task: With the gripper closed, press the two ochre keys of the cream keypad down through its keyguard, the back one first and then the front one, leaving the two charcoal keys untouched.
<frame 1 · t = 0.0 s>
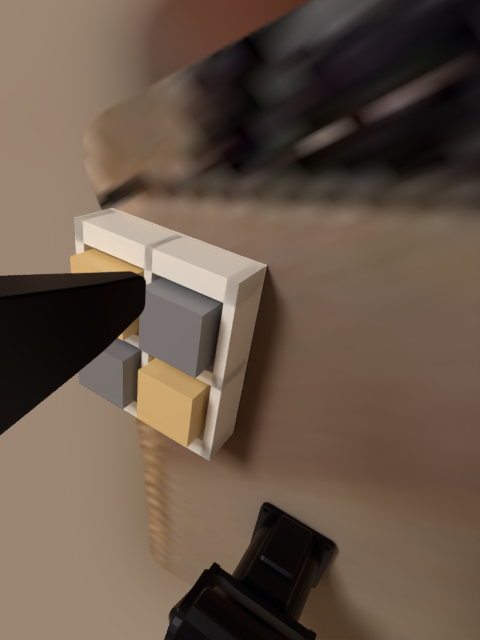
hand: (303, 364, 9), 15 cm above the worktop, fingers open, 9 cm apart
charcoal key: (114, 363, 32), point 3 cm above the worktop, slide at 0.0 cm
ochre key 2: (176, 397, 29), point 4 cm above the worktop, slide at 0.0 cm
keypad: (175, 325, 32), on the worktop
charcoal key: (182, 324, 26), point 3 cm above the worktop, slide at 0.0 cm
ochre key 1: (113, 291, 28), point 4 cm above the worktop, slide at 0.0 cm
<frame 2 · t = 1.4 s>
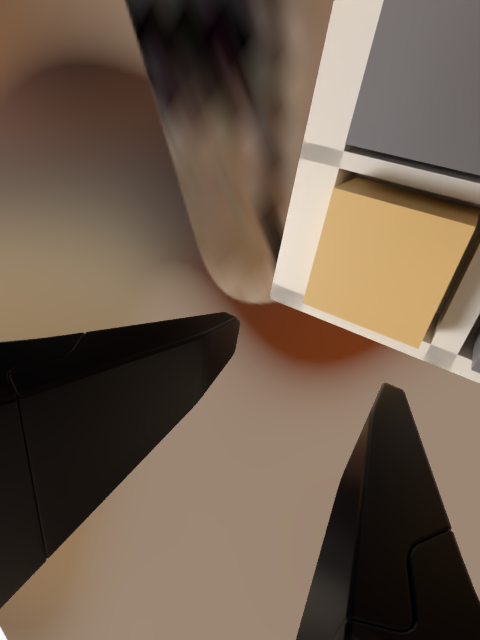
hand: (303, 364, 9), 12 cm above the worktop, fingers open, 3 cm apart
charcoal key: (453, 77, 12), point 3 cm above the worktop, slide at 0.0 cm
ochre key 1: (386, 258, 15), point 4 cm above the worktop, slide at 0.0 cm
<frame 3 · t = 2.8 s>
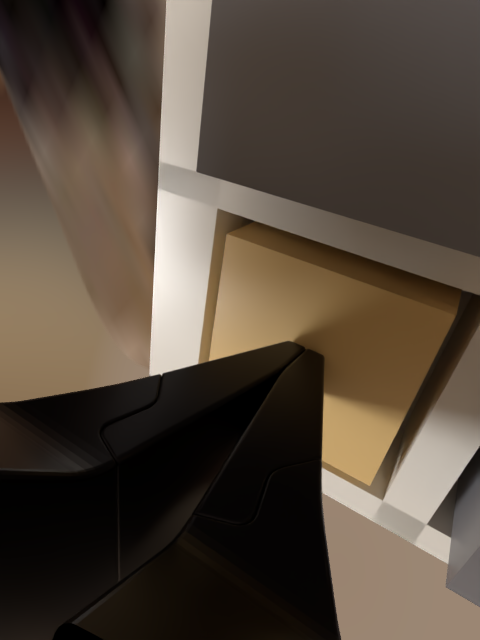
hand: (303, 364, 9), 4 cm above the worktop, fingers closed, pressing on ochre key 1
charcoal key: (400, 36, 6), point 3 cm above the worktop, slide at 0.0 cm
ochre key 1: (324, 336, 10), point 2 cm above the worktop, slide at 1.3 cm, touching gripper
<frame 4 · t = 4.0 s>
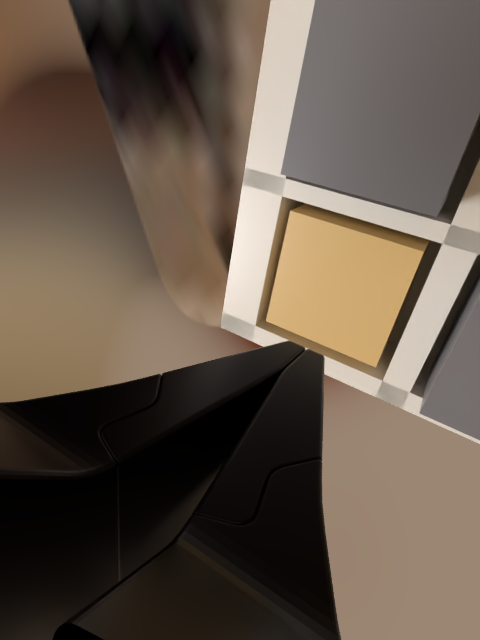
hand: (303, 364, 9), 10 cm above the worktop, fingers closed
keypad: (470, 216, 15), on the worktop
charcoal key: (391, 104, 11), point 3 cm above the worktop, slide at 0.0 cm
ochre key 1: (346, 278, 16), point 2 cm above the worktop, slide at 1.5 cm
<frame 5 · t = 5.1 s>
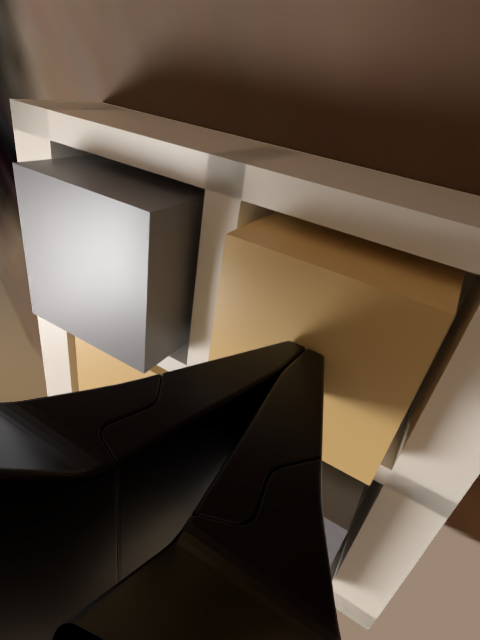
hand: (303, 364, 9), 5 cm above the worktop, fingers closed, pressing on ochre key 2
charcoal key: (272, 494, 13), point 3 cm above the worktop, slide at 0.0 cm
ochre key 2: (323, 336, 10), point 3 cm above the worktop, slide at 0.3 cm, touching gripper
keypad: (252, 332, 15), on the worktop
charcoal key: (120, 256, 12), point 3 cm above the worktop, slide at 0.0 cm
ochre key 1: (148, 383, 16), point 2 cm above the worktop, slide at 1.5 cm
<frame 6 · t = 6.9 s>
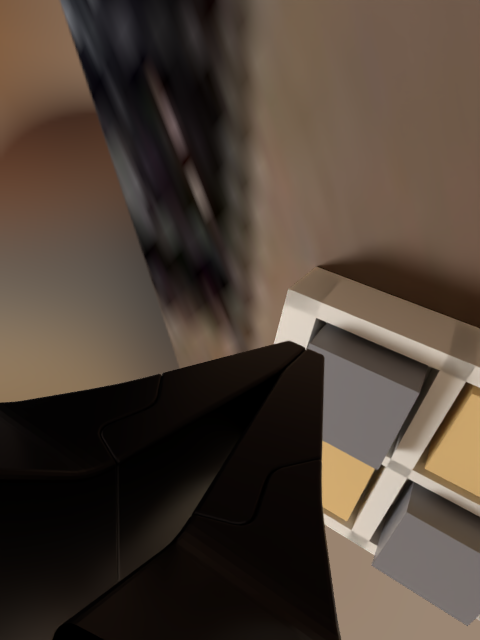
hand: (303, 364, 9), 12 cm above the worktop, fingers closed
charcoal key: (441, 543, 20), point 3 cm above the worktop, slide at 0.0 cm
keypad: (412, 424, 22), on the worktop
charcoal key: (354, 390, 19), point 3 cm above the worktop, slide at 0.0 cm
ochre key 1: (328, 454, 23), point 2 cm above the worktop, slide at 1.5 cm
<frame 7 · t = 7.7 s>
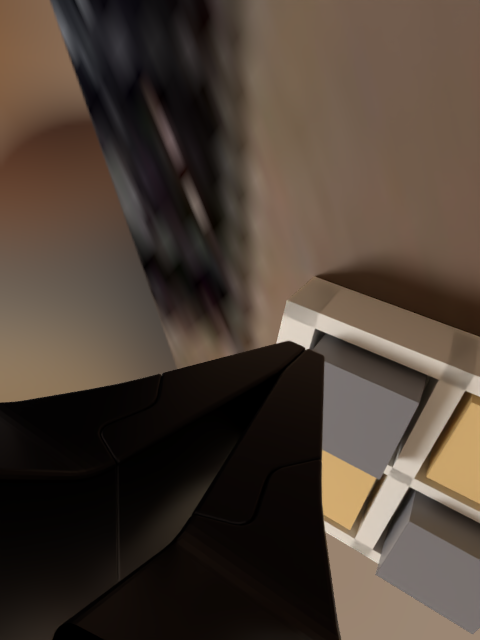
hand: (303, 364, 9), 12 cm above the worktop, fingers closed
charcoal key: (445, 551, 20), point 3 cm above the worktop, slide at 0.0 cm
keypad: (413, 431, 22), on the worktop
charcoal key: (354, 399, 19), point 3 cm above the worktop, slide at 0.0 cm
ochre key 1: (330, 463, 23), point 2 cm above the worktop, slide at 1.5 cm
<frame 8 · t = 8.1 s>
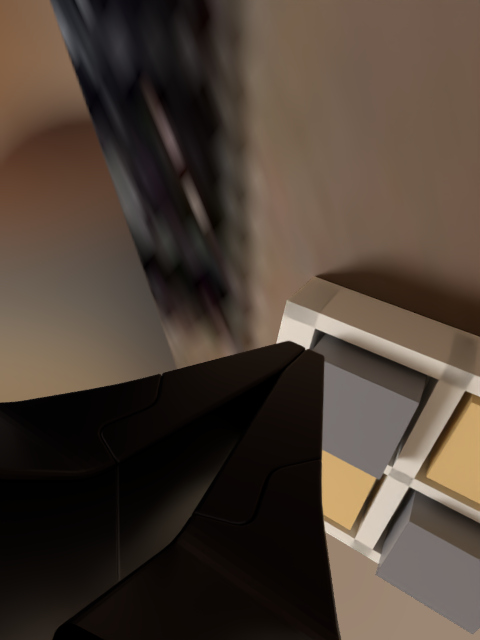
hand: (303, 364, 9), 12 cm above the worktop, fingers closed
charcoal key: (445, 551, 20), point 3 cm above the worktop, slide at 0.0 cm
keypad: (413, 431, 22), on the worktop
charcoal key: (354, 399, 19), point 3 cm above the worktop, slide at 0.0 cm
ochre key 1: (330, 463, 23), point 2 cm above the worktop, slide at 1.5 cm
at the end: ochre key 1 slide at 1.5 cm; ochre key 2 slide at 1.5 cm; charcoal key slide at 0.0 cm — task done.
